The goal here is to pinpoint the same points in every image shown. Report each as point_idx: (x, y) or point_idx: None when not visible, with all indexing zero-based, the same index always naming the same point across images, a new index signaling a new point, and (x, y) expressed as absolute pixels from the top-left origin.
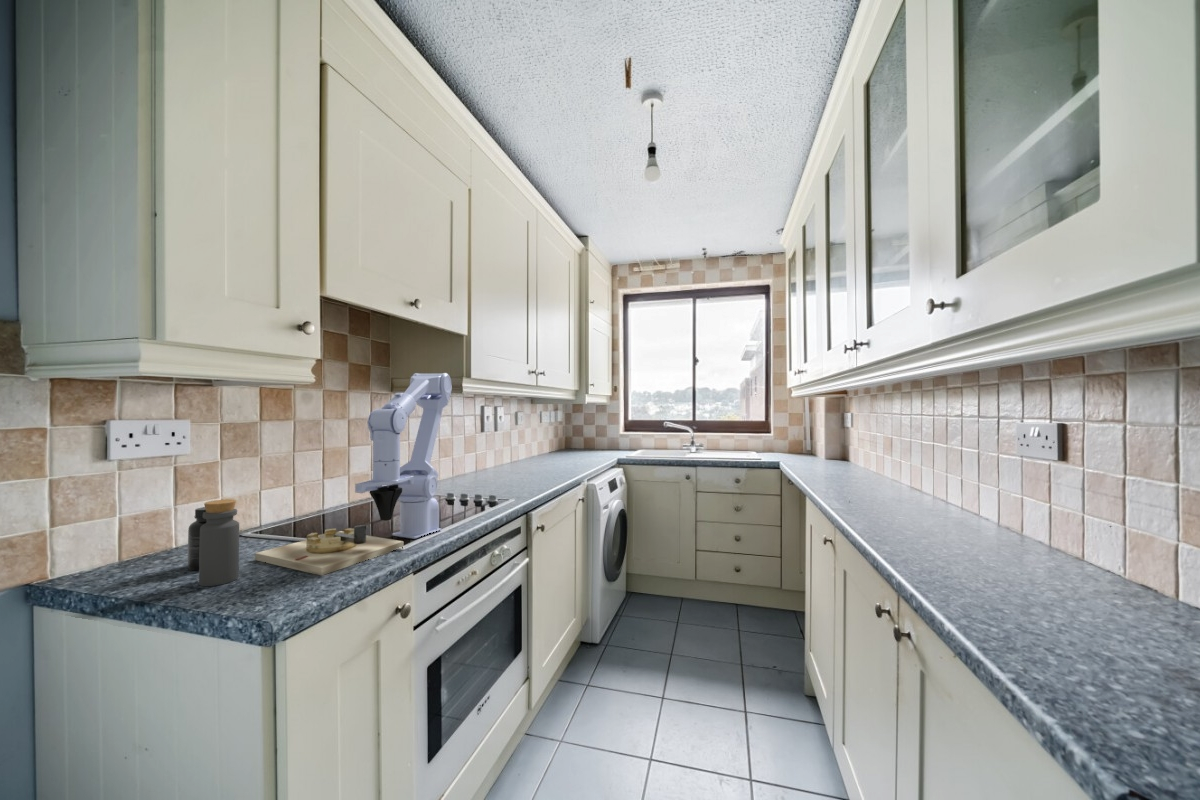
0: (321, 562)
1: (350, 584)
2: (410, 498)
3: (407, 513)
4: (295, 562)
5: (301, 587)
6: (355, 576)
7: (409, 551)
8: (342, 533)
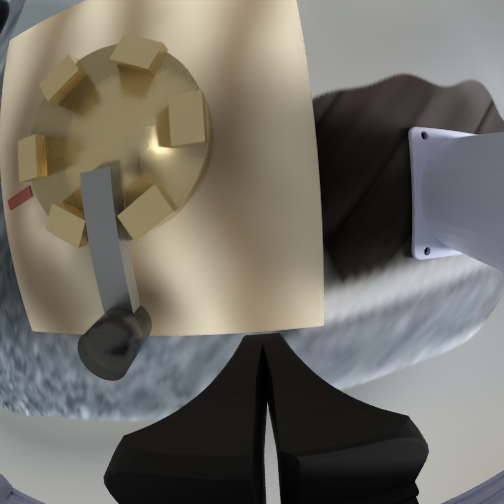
0: (38, 292)
1: (76, 412)
2: None
3: (481, 226)
4: (6, 220)
5: (12, 344)
6: (93, 392)
7: None
8: (110, 184)
